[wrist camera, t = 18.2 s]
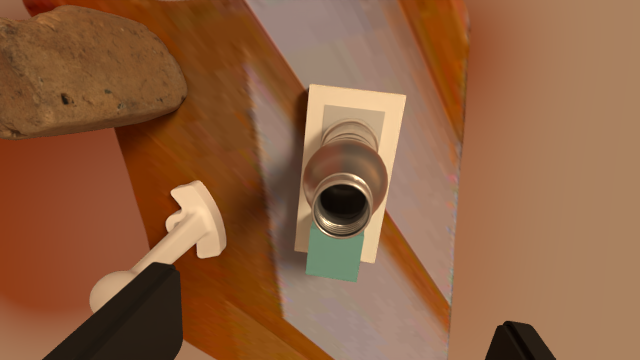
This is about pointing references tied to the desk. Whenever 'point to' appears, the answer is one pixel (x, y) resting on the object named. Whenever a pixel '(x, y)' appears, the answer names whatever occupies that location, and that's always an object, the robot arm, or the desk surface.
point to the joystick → (173, 239)
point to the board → (337, 105)
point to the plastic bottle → (345, 179)
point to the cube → (333, 255)
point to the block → (82, 74)
